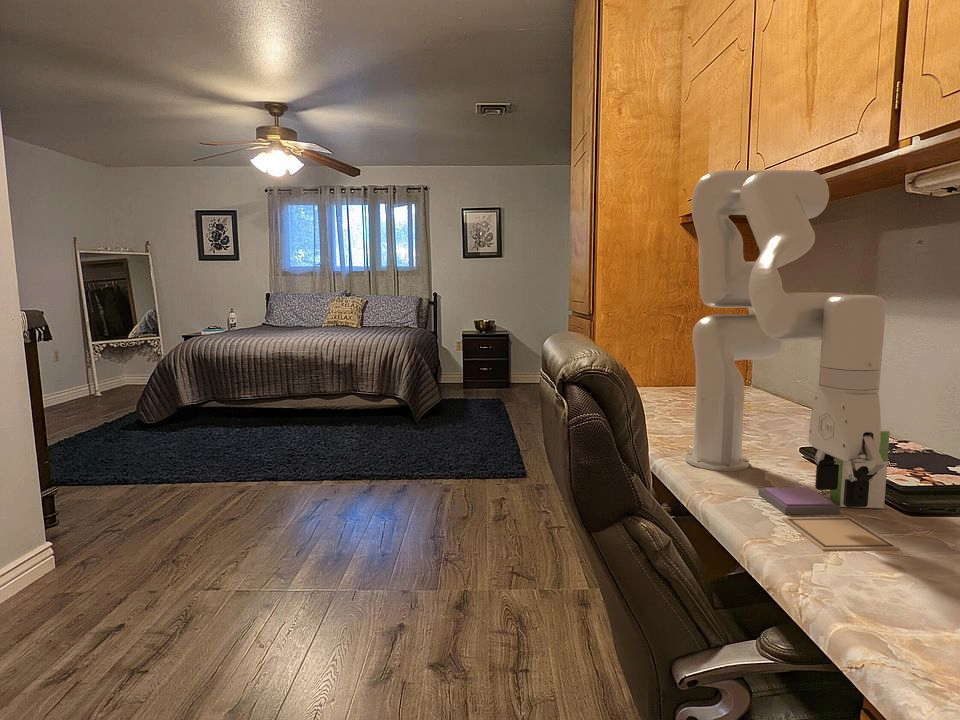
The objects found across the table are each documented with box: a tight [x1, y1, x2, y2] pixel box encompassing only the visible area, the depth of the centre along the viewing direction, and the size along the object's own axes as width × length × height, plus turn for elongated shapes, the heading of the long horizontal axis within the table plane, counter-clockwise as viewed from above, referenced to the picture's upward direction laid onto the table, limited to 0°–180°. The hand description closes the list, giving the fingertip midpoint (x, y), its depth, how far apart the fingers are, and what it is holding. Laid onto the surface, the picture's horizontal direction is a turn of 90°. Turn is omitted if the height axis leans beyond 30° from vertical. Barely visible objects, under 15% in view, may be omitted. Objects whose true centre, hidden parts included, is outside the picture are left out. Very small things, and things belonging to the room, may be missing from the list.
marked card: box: [781, 516, 901, 552], centre depth 87 cm, size 11×11×1 cm
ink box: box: [829, 430, 890, 509], centre depth 98 cm, size 7×4×13 cm, turn 81°
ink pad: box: [757, 486, 841, 515], centre depth 99 cm, size 9×9×2 cm
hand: (840, 496), depth 87 cm, fingers open, 6 cm apart
